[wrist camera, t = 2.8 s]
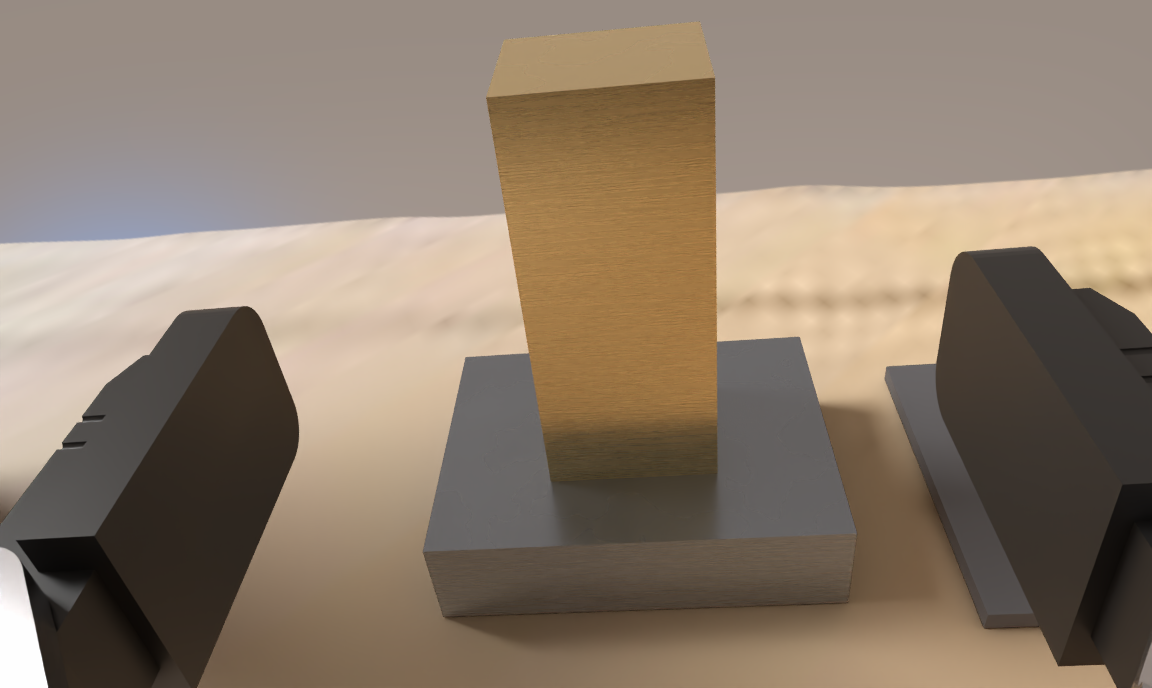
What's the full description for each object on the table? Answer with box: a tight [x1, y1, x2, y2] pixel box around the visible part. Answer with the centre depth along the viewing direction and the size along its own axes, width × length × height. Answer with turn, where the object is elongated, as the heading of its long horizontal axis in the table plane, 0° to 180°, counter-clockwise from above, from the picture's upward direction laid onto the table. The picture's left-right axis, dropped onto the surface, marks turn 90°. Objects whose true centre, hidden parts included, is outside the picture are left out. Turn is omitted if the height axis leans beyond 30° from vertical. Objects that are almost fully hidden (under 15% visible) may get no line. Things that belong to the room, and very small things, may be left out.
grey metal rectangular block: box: [423, 337, 857, 617], centre depth 29 cm, size 12×9×3 cm
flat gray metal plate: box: [885, 364, 1039, 628], centre depth 28 cm, size 11×11×1 cm
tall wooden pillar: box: [486, 22, 718, 482], centre depth 24 cm, size 5×4×12 cm
